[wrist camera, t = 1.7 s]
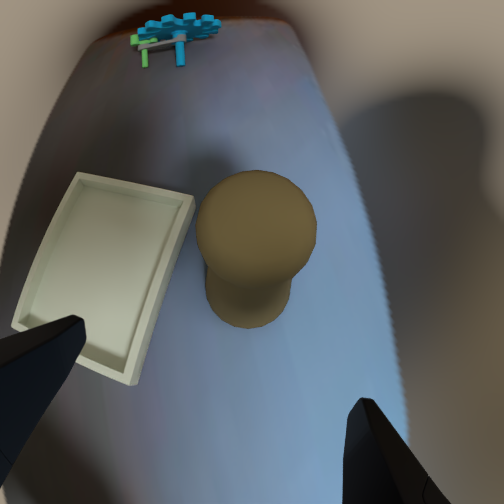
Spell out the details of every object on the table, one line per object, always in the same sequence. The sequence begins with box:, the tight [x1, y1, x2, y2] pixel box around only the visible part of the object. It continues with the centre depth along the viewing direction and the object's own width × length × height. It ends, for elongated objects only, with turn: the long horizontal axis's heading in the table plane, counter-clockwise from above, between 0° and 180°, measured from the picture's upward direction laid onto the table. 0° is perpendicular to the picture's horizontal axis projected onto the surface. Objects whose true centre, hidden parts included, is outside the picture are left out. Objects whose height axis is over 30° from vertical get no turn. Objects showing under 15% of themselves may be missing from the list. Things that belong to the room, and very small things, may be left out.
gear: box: [130, 13, 221, 68], centre depth 30 cm, size 11×6×10 cm
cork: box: [195, 170, 317, 329], centre depth 17 cm, size 6×6×11 cm
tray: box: [11, 172, 196, 386], centre depth 21 cm, size 14×11×2 cm
